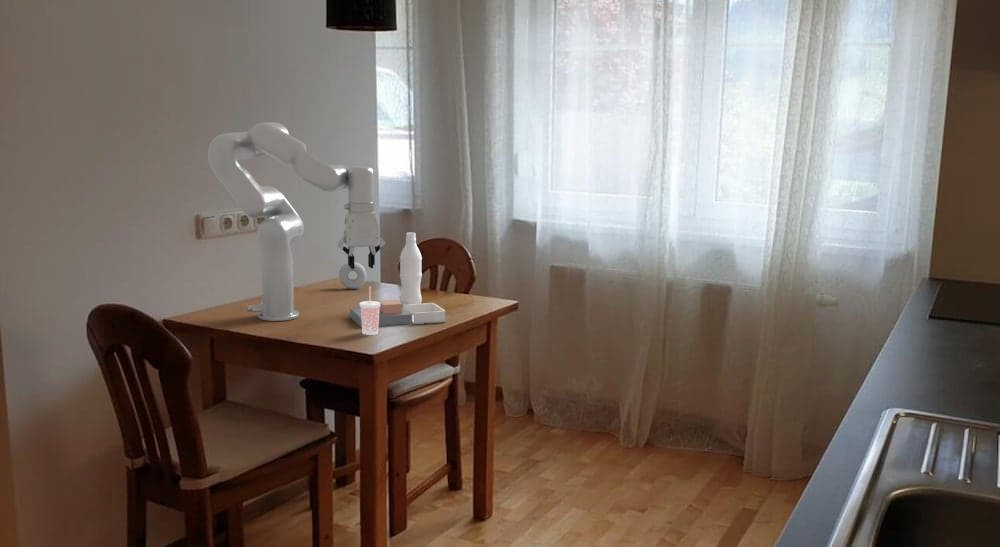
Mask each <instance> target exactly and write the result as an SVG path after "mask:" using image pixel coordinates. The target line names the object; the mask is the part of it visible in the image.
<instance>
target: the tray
mask: <svg viewBox="0 0 1000 547" xmlns="http://www.w3.org/2000/svg"><path fill="white" fill-rule="evenodd" d="M403 308H405V309H406V310H407V311H409V312H410V313H411V314H412V324H413V325H425V324H424V323H428V324H438V323H447V311H446V310H445V309H444V308H442V307H441V306H439V305H438V304H436V303H435V302H428V303H425V302H424V303H421V304H409V305H403Z"/></svg>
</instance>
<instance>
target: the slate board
mask: <svg viewBox="0 0 1000 547" xmlns="http://www.w3.org/2000/svg"><path fill="white" fill-rule="evenodd" d="M349 318H350V319H351V318H352V319H351V320H352V321H353V322H355V324H357V325H358V326H359V328H361V329H362V320H361V307H360V306H358V307H355V306H354V307H349ZM399 324H402V325H412V324H413V323H412V314H411V313H410V312H409V311H407V310H406V309H405V308H403V307H402V313H400V314H386V315H383V314H382V313H381V312H380V311H379V325H378V327H385V326H386V325H389V326H400V325H399ZM386 327H387V326H386Z"/></svg>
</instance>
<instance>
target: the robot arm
mask: <svg viewBox="0 0 1000 547" xmlns="http://www.w3.org/2000/svg"><path fill="white" fill-rule="evenodd" d="M264 155H266V156H269V157H271V158H273V159H274V160H275V161H278V162H279V163H281V164H283V165H285V166H287V167H289V169H290V170H292V172H294V174H295V175H296V176H297V177H299V178H300V179H301V180H303V181H305V183H308V184H310V185H311V186H313V187H315V188H317V189H319V190H321V191H323V192H328V193H329V192H335V191H342V190H346V189H348V190H347V192H348V198H347V199H348V201H347V203H346V204H343V210H347V212H345V213H346V214H345V217H344V224H343V225H344V227H343V235H342V237H341V238H339V240H338V241H337V243H336V246H337V247H338V248H339V249H341V250H342V251H343V252H344V253H345V254H346V255H347V263H348V266H350V268H351V269H354V262H355V256H354V250H355V248H358V247H360V248H361V247H368V250H369V253H368V255H367V256H368V257H367V259H368V261H367V262H368V263H367V264H368V268H370V269H373V268H374V266H375V265H376V260H375V259H376V255H377V253H378V252H379V251H380V250H381V248H383V247H384V246H385V245H386V241H385V239H383V238H382V236H381V235H380V229H379V228H380V226H379V218H378V213H377V212H375V200H374V199H375V191H374V190H375V185H374V184H375V183H374V182H375V178H374V177H375V175H374V174H375V172H374V169H373V168H372V166H371V167H370V166H364V165H361V166H359V165H358V166H357V165H356V166H353V165H347V164H341V163H340V164H330V165H328V164H326V163H324V162H322V161H321V160H319V159H317V158H316V157H314V156H312V155H311V154H310V153H309V152H308V151H307V145H306V144H305V142H303V141H301V140H300V139H298V138H296V137H294V136H292V135H290V132H289V131H288V128H287V127H286V126H284V125H283V124H282V123H279V122H276V121H272V122H271V121H269V122H267V121H266V122H259V123H256V124H254V126H253V127H252V128H251V129H250V130H247V131H239V132H226V133H222V134H221V133H220V134H219V135H217V136H216V137H214V138H213V139H212V140H211V142H210V144H209V147H208V149H207V162H208V164H209V167H210V168H211V170H212V173H213V174H214V176H215V177H216V178H217V179H218V180H219V182H220V183H221V184H222V185H223V186H224V187H225V189H226V190H227V192H228V193H229V195H230V196H231V197H232V199H233V200H234V201H235V202H236V204H237V206H239V208H240V209H241V210H242V212H243V213H244V214H245V216H247V217H249V219H250V218H251V219H260V218H261V219H262V218H264V219H263V220H262V221H261V222H260V224H259V225H258V229H257V241H258V246H259V250H260V253H259V254H260V264H261V265H260V267H261V268H260V270H261V298H262V299H261V300H262V301H259V302H260V303H258V304H256V305H247V306H246V312H247V313H249V312H250V313H251V312H252V313H257V318H258V319H259V320H262V321H268V322H282V321H284V322H285V321H290V320H294V319H297V318H299V317H300V313H299V312H300V311H298V310H295V301H294V298H295V297H294V296H295V295H294V259H293V254H292V249H291V245H290V244H292V243H294V242H295V243H296V242H297V241H299V240H300V239H301V238H302V236H303V235H304V232H305V227H304V222H303V219H302V218H301V217H300V215H299V214H298V212H297V211H296V210H295V209H294V207H293V205H292V204H291V203H290V202H289V200H288V199H287V198H286V197H285V195H284V194H283V193H282V192H281V191H280V190H279V189H277V188H275V187H274V186H272V185H271V186H270V185H260V184H259V183H258V182H257V181H256V180H255V179H254V177H253V176H252V174H251V173H250V172H249V171H248V170H247V169H246V168H245V167H244V166H242V165H241V164H240V162H239V161H243V160H244V161H245V160H251V159H253V158H257V157H260V156H264ZM344 244H345V245H347V246H348V247H347V246H345V245H344Z"/></svg>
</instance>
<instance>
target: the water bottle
mask: <svg viewBox="0 0 1000 547" xmlns="http://www.w3.org/2000/svg"><path fill="white" fill-rule="evenodd" d="M405 236H406V237H405V245H404V247H403V249H402V251H401V252H400V256H399V260H400V263H399V267H400V268H399V278H400V284H401V285H400V287H401V289H400V295H399V302H401V303H402V307H403V305H409V304H422V300H423V299H422V298H423V297H422V294H421V292H422V291H421V281H422V276H423V273H422V260H423V257H422V254H421V251H420V249H419V247H418V246H417V242H416V241H417V237H416V232H413V231H412V232H411V231H409V232H406V235H405Z"/></svg>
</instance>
